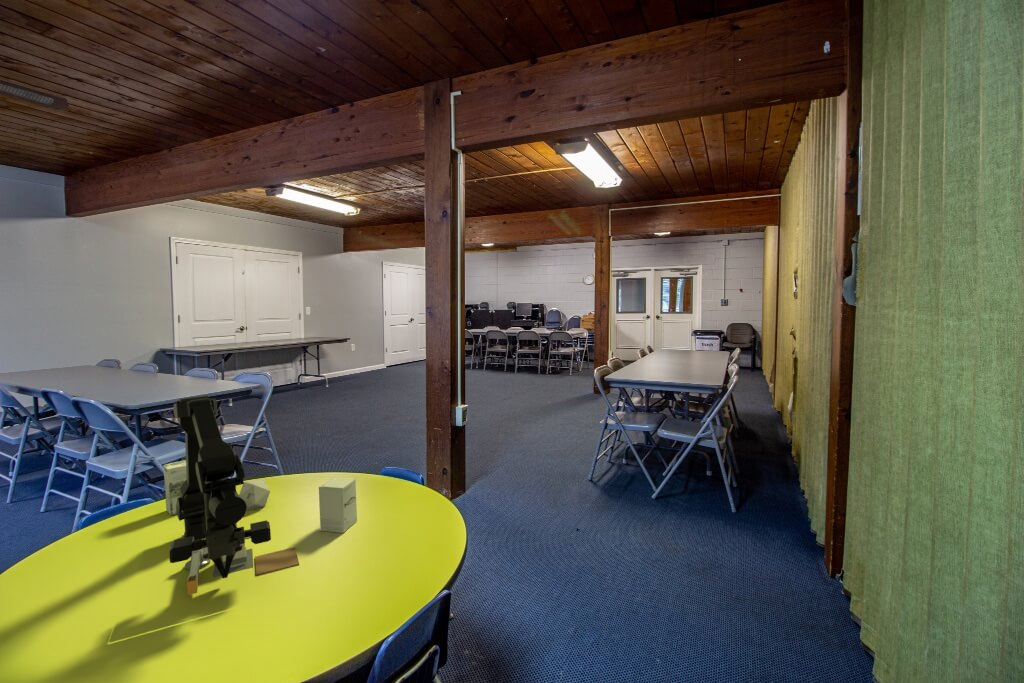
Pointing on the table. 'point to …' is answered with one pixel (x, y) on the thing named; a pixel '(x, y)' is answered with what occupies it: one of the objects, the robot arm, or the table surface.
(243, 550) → the beige tall block
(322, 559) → the table surface
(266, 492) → the die
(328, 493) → the supplement box
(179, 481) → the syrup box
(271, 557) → the walnut pad
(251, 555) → the socket plate
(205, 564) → the clip base
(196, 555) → the bar
